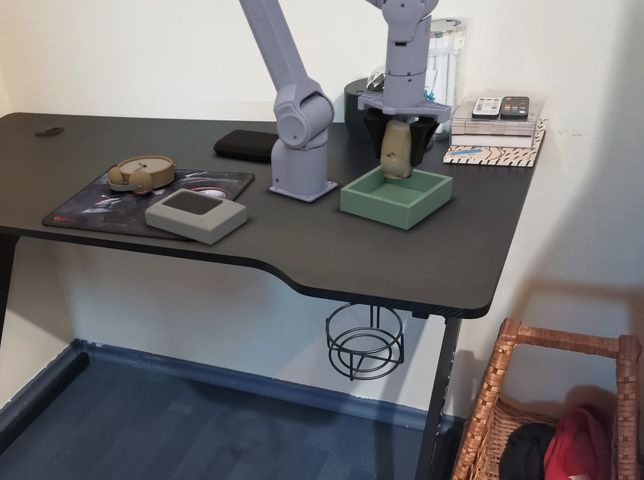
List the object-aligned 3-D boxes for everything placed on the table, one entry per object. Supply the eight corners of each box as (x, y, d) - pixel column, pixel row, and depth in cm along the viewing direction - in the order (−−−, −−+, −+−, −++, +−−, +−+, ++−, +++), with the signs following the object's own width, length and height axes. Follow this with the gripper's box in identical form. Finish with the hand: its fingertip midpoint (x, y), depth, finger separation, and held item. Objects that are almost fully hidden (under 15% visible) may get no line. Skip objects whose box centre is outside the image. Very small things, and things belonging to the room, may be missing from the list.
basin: (339, 210, 106) (340, 189, 103) (383, 182, 111) (384, 162, 109) (407, 230, 98) (409, 207, 95) (450, 199, 103) (453, 177, 101)
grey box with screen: (208, 224, 100) (143, 204, 109) (211, 244, 102) (146, 224, 111) (245, 200, 105) (180, 183, 114) (247, 220, 107) (182, 202, 116)
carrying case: (297, 145, 130) (238, 138, 138) (297, 131, 128) (237, 124, 136) (271, 165, 124) (210, 156, 132) (270, 150, 122) (208, 142, 130)
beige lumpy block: (418, 167, 102) (423, 118, 97) (415, 181, 98) (420, 130, 93) (381, 167, 104) (384, 118, 99) (377, 180, 100) (380, 130, 95)
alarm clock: (184, 158, 125) (138, 175, 114) (185, 183, 127) (139, 202, 117) (140, 152, 130) (91, 168, 120) (141, 176, 133) (94, 194, 122)
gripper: (347, 73, 94) (344, 160, 103) (436, 84, 85) (426, 179, 93) (374, 60, 98) (370, 145, 106) (464, 69, 88) (451, 162, 97)
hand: (398, 160), depth 100 cm, fingers closed on beige lumpy block, 6 cm apart
